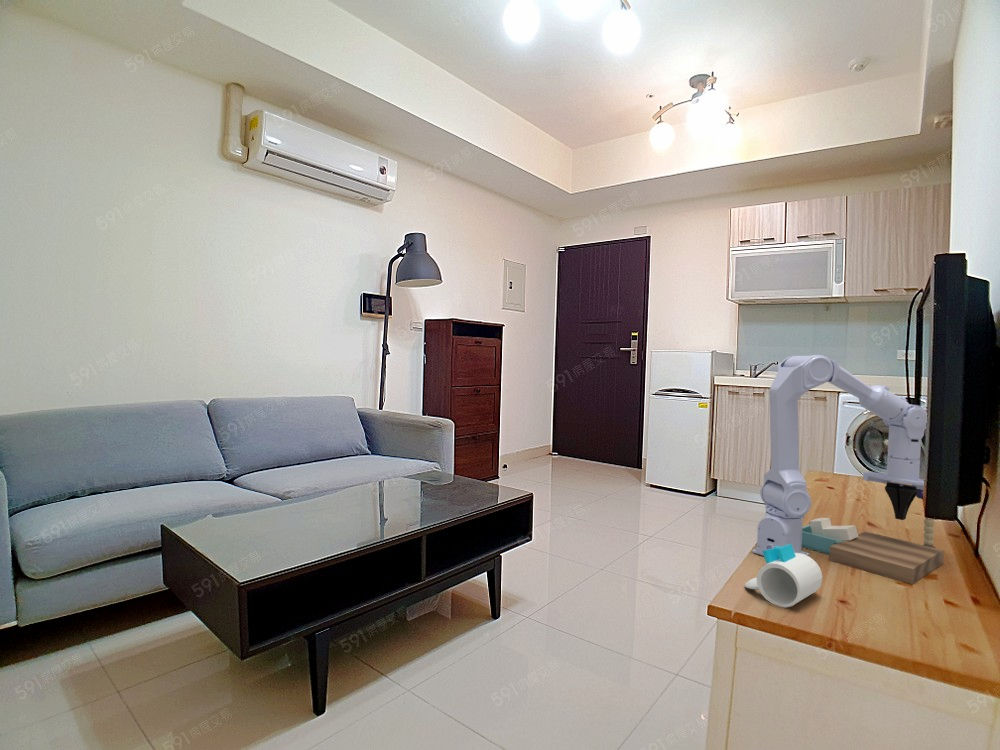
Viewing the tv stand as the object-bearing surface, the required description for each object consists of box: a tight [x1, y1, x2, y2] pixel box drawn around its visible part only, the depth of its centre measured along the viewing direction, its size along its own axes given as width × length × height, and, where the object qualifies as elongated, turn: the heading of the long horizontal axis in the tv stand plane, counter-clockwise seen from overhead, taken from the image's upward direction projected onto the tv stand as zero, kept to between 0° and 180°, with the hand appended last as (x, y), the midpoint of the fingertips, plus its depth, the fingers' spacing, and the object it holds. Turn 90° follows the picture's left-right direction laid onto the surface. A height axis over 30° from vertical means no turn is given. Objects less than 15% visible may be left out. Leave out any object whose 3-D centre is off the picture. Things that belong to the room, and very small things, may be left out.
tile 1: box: [809, 517, 833, 537], centre depth 122 cm, size 5×5×2 cm
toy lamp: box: [916, 489, 936, 548], centre depth 119 cm, size 5×5×17 cm
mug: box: [744, 544, 823, 609], centre depth 95 cm, size 12×9×12 cm
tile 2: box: [823, 525, 859, 540], centre depth 120 cm, size 5×5×2 cm
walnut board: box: [828, 531, 944, 585], centre depth 112 cm, size 20×14×3 cm
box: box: [801, 524, 844, 555], centre depth 122 cm, size 12×9×4 cm
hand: (900, 518), depth 116 cm, fingers closed
